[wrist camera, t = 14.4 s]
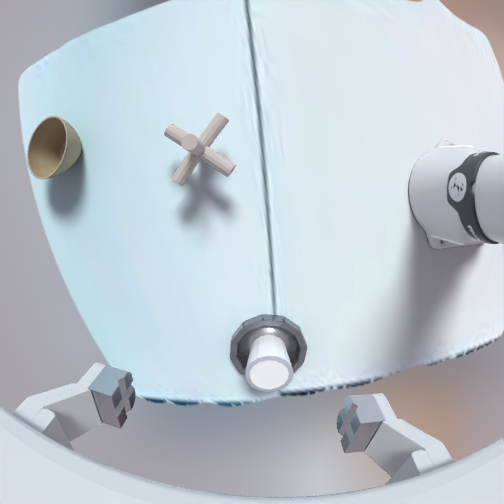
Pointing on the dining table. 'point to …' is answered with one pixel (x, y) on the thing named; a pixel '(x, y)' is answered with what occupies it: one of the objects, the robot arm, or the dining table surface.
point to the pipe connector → (199, 149)
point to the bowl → (267, 326)
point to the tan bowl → (53, 148)
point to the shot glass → (268, 364)
